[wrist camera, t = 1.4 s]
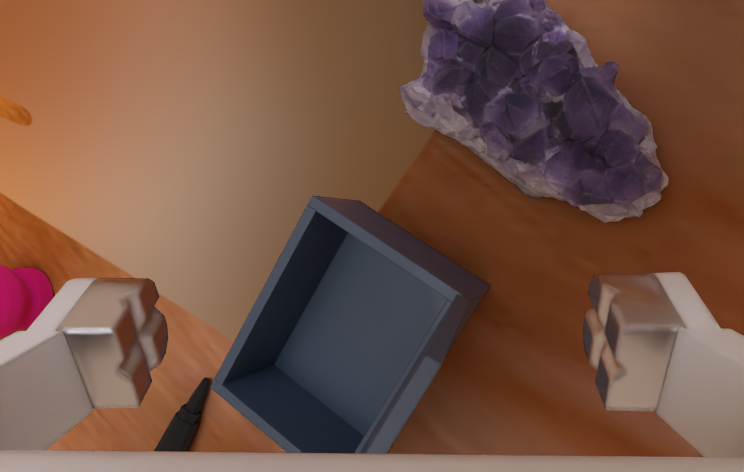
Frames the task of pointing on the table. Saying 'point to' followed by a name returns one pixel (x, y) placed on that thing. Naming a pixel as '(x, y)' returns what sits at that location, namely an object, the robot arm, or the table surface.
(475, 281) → the case
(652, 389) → the robot arm
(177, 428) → the microphone
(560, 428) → the table surface
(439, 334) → the lid
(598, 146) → the geode
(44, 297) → the pepper mill
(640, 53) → the table surface
